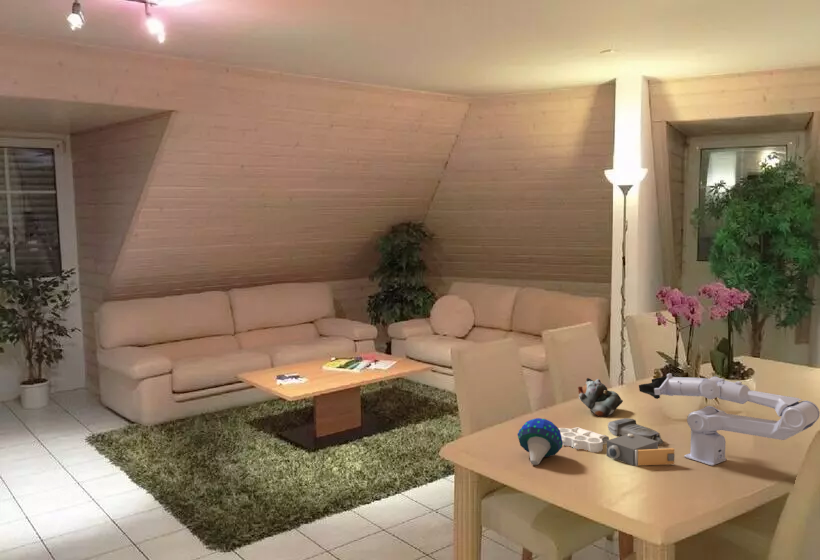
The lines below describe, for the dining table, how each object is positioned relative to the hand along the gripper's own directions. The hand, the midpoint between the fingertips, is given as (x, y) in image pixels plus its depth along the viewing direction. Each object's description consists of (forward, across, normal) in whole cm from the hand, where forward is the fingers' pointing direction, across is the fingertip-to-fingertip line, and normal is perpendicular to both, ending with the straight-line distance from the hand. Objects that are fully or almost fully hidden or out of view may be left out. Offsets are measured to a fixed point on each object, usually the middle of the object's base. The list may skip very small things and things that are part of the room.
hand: (646, 385), depth 226 cm
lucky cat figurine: (+32, -16, +16) cm, 39 cm away
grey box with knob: (-2, +16, +18) cm, 25 cm away
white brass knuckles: (+16, +18, +16) cm, 29 cm away
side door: (-10, +18, +19) cm, 28 cm away
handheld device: (+7, 0, +19) cm, 20 cm away
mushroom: (+16, +39, +14) cm, 44 cm away
